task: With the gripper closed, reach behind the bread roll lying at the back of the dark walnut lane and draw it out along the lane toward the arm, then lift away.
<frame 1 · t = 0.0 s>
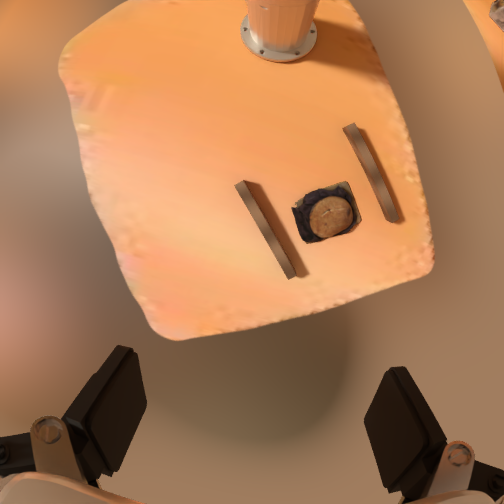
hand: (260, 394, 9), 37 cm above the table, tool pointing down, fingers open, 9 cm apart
shelf lane: (319, 199, 44), on the table
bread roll: (325, 212, 45), on the table
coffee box: (497, 17, 27), on the table
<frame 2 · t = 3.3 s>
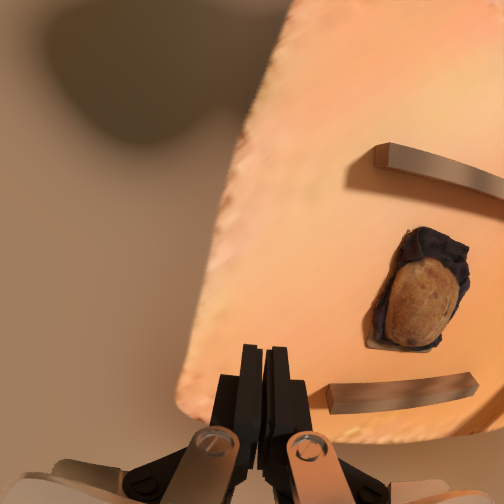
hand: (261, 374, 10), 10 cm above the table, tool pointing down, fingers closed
shelf lane: (443, 296, 19), on the table
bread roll: (418, 293, 20), on the table
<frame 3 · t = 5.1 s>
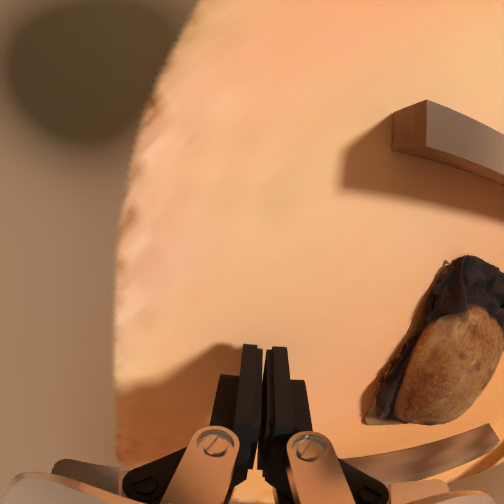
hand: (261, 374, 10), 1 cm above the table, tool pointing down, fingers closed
shelf lane: (477, 349, 11), on the table
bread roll: (444, 349, 12), on the table
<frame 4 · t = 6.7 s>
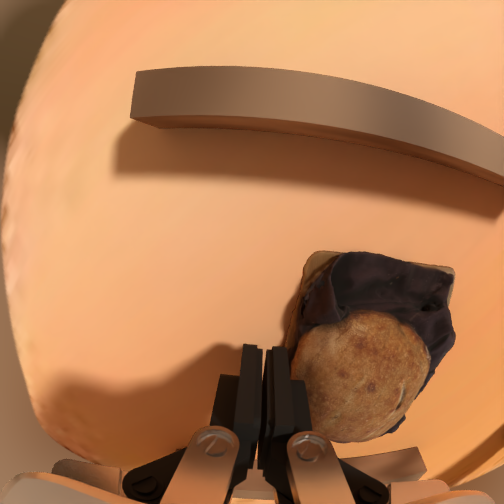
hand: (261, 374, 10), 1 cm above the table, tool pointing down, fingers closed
shelf lane: (347, 359, 12), on the table
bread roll: (359, 357, 12), on the table
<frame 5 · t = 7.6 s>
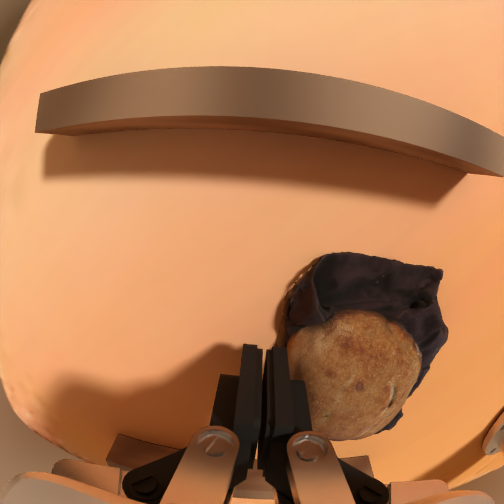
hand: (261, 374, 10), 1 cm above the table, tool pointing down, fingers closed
shelf lane: (255, 354, 12), on the table
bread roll: (352, 356, 13), on the table
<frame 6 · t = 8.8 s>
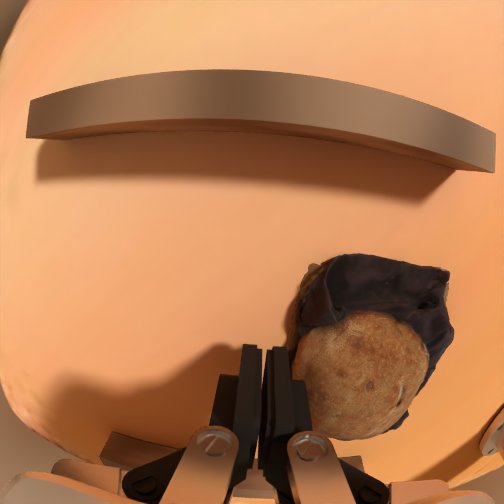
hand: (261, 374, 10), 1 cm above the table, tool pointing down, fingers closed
shelf lane: (241, 353, 12), on the table
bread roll: (359, 356, 13), on the table
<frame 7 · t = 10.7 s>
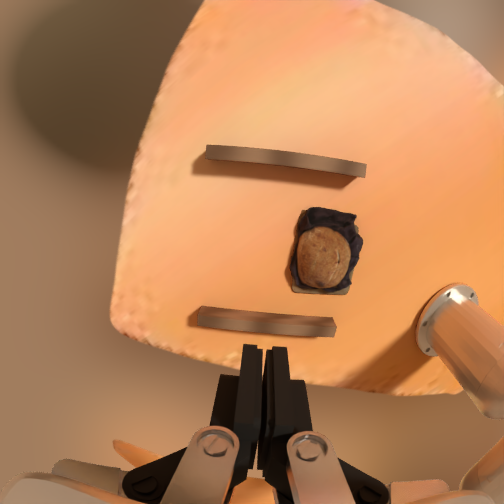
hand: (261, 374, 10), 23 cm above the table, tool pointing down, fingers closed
shelf lane: (276, 244, 33), on the table
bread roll: (324, 252, 34), on the table
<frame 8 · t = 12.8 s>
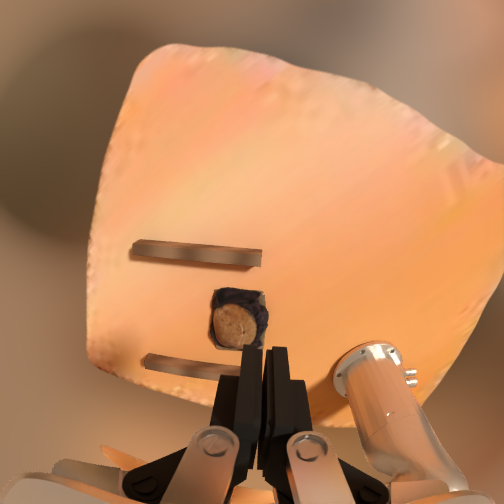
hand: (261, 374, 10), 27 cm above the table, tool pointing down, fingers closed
shelf lane: (197, 313, 40), on the table
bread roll: (239, 319, 41), on the table
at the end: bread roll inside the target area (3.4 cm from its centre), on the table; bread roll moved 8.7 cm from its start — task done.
